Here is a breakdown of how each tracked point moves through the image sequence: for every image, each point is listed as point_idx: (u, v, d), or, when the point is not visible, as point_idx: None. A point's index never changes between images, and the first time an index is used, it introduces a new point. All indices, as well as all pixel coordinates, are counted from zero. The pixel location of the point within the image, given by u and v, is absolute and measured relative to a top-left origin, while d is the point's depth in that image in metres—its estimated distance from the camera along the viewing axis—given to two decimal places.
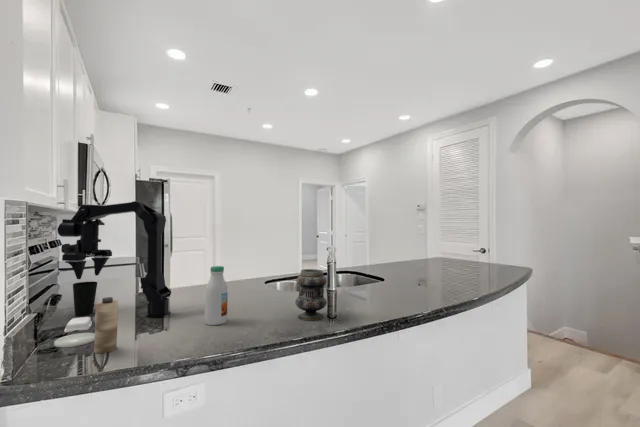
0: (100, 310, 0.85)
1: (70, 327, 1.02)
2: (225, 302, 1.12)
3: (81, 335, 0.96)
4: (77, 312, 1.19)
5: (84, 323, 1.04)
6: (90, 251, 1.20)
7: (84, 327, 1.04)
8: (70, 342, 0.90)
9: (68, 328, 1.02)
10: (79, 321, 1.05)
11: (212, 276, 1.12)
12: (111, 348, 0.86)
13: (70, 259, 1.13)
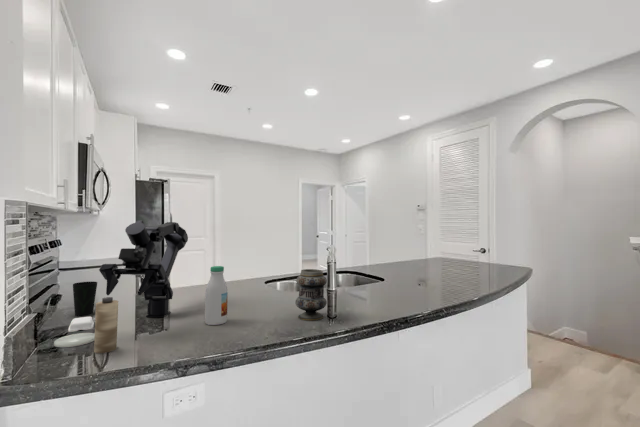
0: (100, 310, 0.85)
1: (74, 327, 1.03)
2: (225, 302, 1.12)
3: (81, 335, 0.96)
4: (77, 312, 1.19)
5: (88, 322, 1.05)
6: None
7: (88, 326, 1.05)
8: (70, 342, 0.90)
9: (72, 328, 1.02)
10: (83, 321, 1.05)
11: (212, 276, 1.12)
12: (111, 348, 0.86)
13: (163, 274, 1.03)
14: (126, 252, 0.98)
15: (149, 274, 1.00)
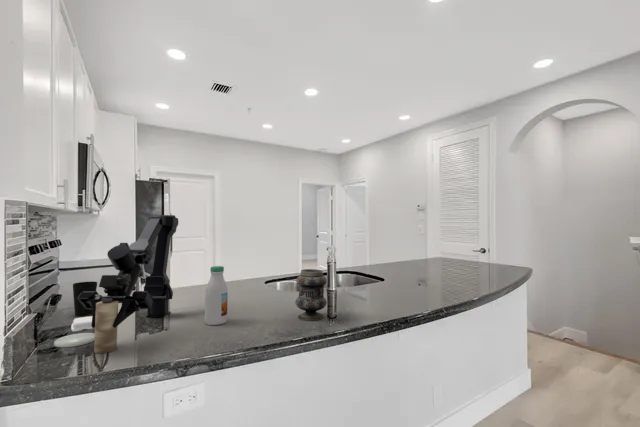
0: (100, 310, 0.85)
1: (78, 326, 1.03)
2: (225, 302, 1.12)
3: (81, 335, 0.96)
4: (77, 312, 1.19)
5: None
6: None
7: None
8: (70, 342, 0.90)
9: (76, 327, 1.03)
10: (86, 320, 1.06)
11: (212, 276, 1.12)
12: (111, 348, 0.86)
13: (149, 302, 0.93)
14: (107, 279, 0.88)
15: (126, 303, 0.90)
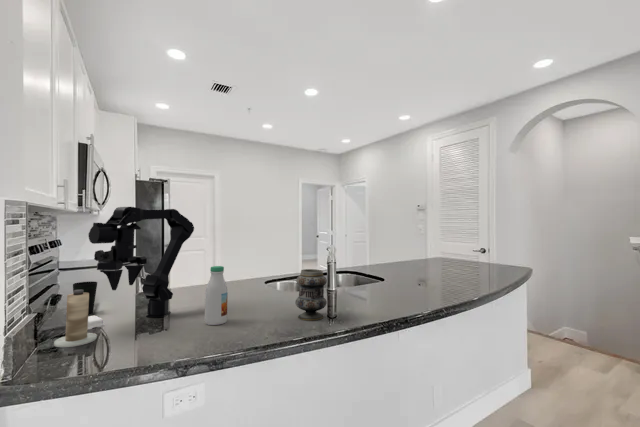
0: (68, 301, 0.92)
1: (88, 325, 1.05)
2: (225, 302, 1.12)
3: None
4: None
5: (101, 320, 1.08)
6: (126, 259, 1.07)
7: (101, 324, 1.08)
8: (70, 342, 0.90)
9: None
10: (94, 319, 1.07)
11: (212, 276, 1.12)
12: (77, 338, 0.92)
13: (106, 268, 1.00)
14: None
15: None
